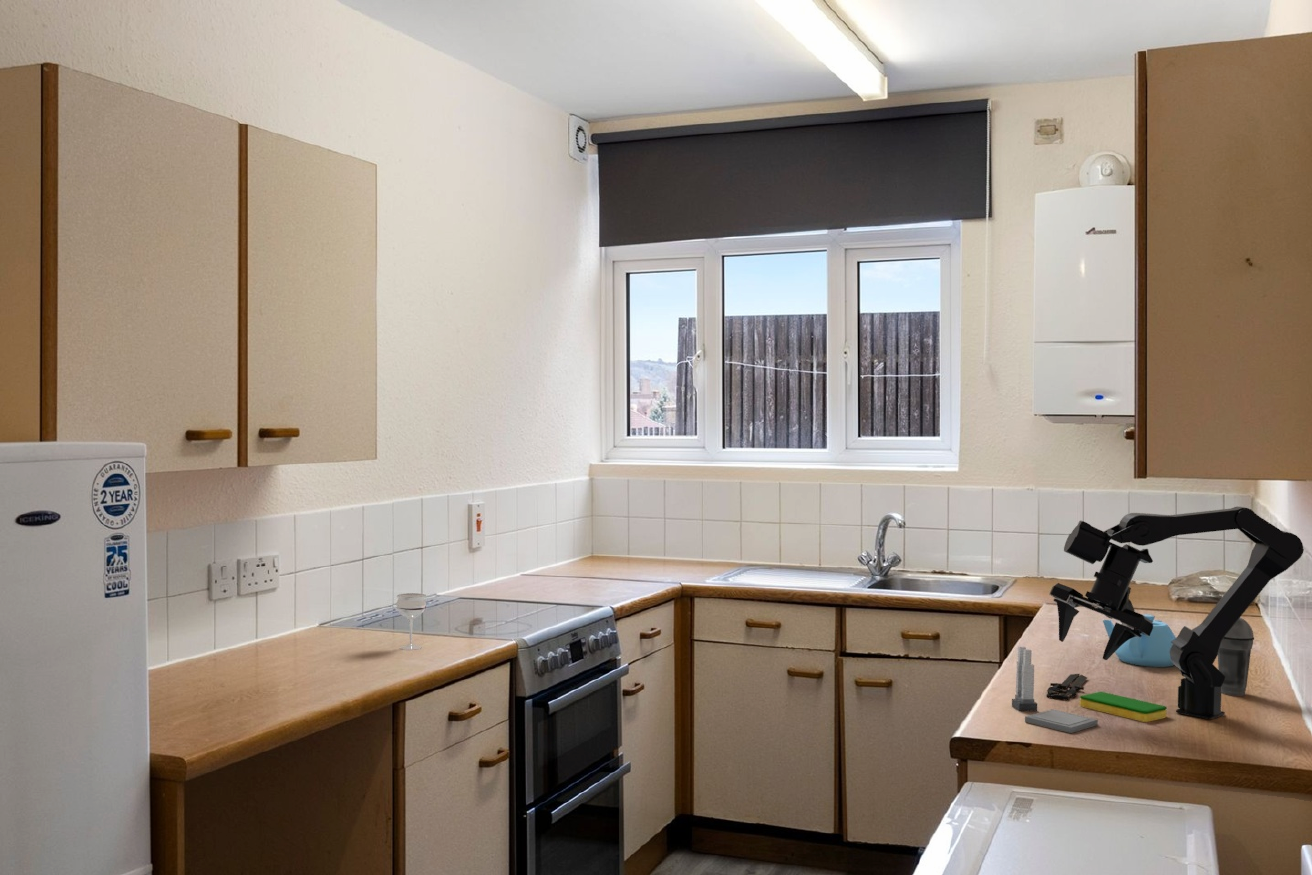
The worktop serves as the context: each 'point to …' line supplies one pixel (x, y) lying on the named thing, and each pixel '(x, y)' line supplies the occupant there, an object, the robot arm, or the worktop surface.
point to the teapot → (1146, 646)
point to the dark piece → (1067, 682)
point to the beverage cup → (1235, 658)
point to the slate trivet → (1061, 721)
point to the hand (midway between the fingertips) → (1082, 650)
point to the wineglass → (411, 611)
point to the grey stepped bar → (1024, 682)
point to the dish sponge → (1123, 706)
